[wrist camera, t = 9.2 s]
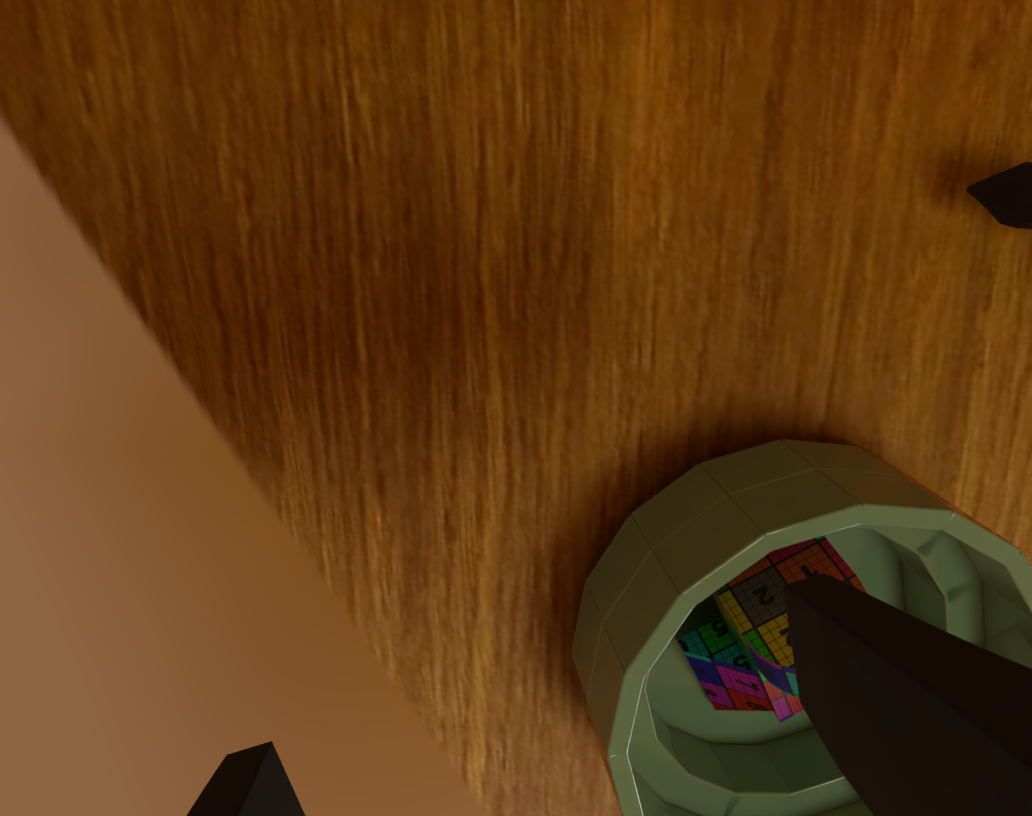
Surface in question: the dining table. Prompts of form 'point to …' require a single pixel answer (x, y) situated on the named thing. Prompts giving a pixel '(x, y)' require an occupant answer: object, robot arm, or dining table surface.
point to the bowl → (691, 605)
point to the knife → (1007, 195)
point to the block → (759, 631)
